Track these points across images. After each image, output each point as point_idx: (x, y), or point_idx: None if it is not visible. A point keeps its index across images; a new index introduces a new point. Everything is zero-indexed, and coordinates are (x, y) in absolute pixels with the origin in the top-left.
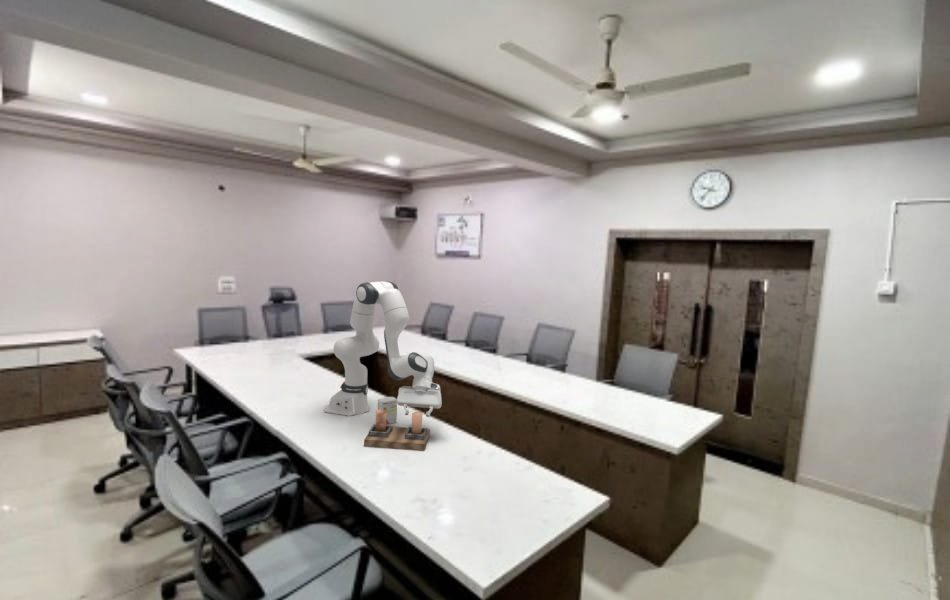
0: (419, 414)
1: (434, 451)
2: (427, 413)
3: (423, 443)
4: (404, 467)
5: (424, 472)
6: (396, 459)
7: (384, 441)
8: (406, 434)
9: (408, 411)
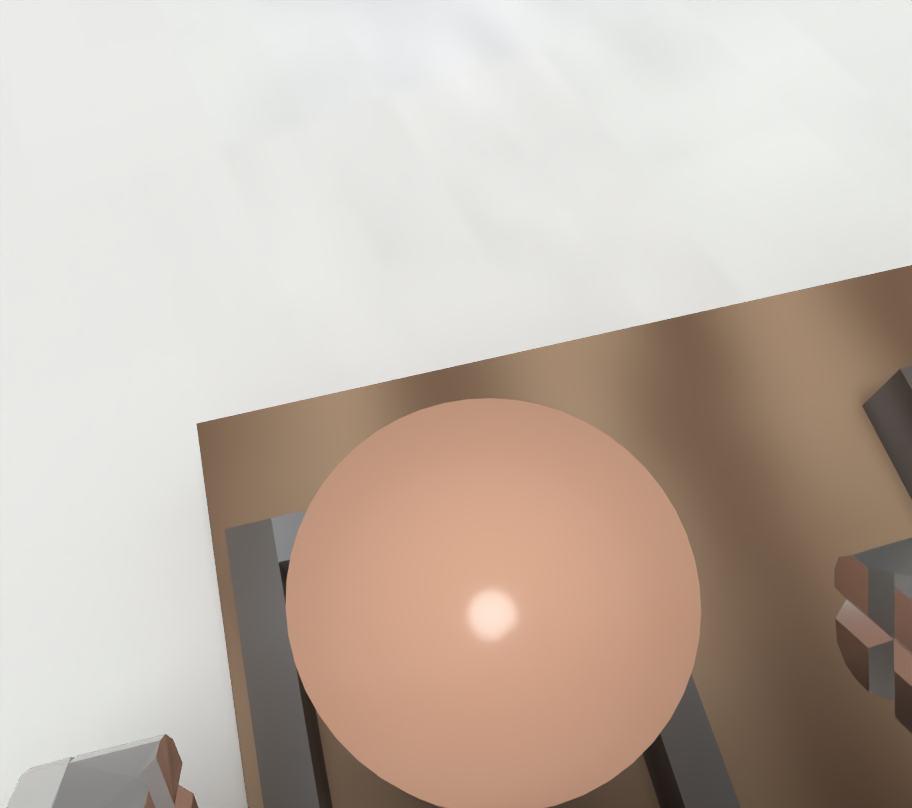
0: (377, 544)
1: (69, 506)
2: (90, 788)
3: (219, 431)
4: (310, 54)
5: (79, 41)
6: (468, 153)
7: (815, 288)
8: None
9: (905, 624)
